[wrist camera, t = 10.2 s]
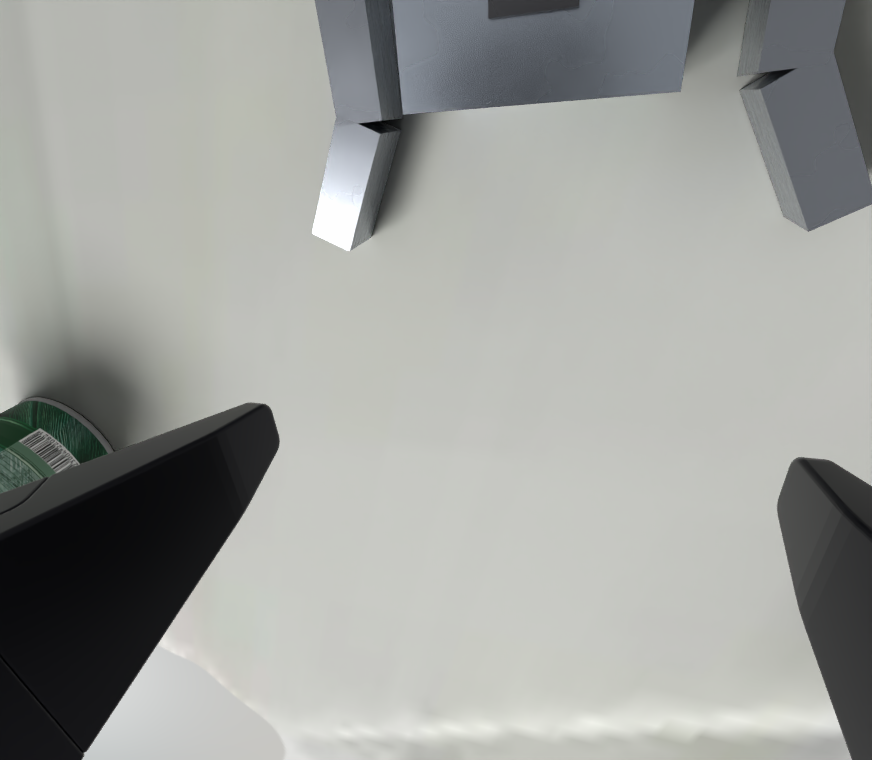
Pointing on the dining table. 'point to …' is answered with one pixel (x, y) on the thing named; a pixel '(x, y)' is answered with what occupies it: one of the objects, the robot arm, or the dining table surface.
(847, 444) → the dining table surface
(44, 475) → the canned tomato
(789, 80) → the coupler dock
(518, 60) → the block
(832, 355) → the dining table surface
